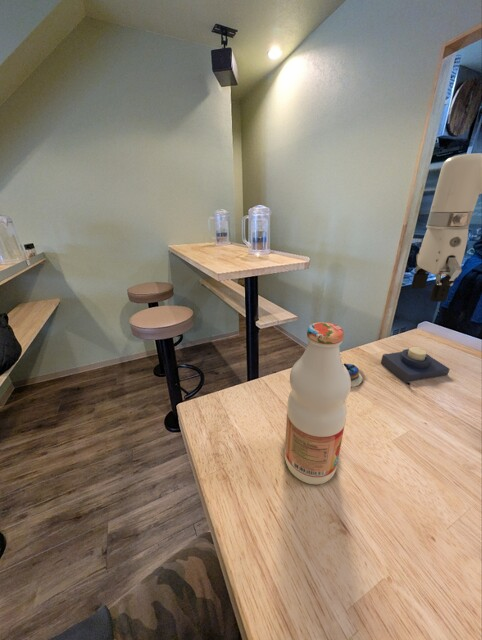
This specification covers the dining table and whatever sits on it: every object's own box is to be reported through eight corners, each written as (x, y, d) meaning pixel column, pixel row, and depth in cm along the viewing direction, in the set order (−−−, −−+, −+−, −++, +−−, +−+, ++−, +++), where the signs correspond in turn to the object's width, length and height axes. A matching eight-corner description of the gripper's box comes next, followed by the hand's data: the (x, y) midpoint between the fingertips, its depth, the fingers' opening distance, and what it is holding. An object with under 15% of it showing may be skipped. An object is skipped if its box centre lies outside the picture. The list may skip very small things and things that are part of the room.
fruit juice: (277, 445, 51) (281, 319, 39) (320, 435, 52) (337, 312, 40) (296, 492, 42) (309, 351, 30) (346, 479, 44) (378, 340, 32)
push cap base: (416, 358, 76) (420, 343, 74) (446, 378, 67) (452, 363, 65) (380, 363, 74) (383, 349, 72) (406, 385, 65) (411, 369, 63)
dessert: (347, 364, 73) (357, 356, 68) (359, 385, 70) (372, 379, 65) (324, 372, 71) (333, 365, 66) (336, 395, 68) (347, 389, 63)
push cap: (416, 352, 71) (418, 345, 70) (428, 360, 67) (430, 353, 66) (403, 354, 70) (405, 347, 69) (415, 362, 67) (417, 355, 66)
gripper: (496, 223, 47) (465, 307, 54) (445, 218, 63) (426, 284, 70) (452, 224, 48) (427, 306, 56) (412, 218, 64) (396, 283, 71)
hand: (426, 294), depth 63 cm, fingers open, 9 cm apart
